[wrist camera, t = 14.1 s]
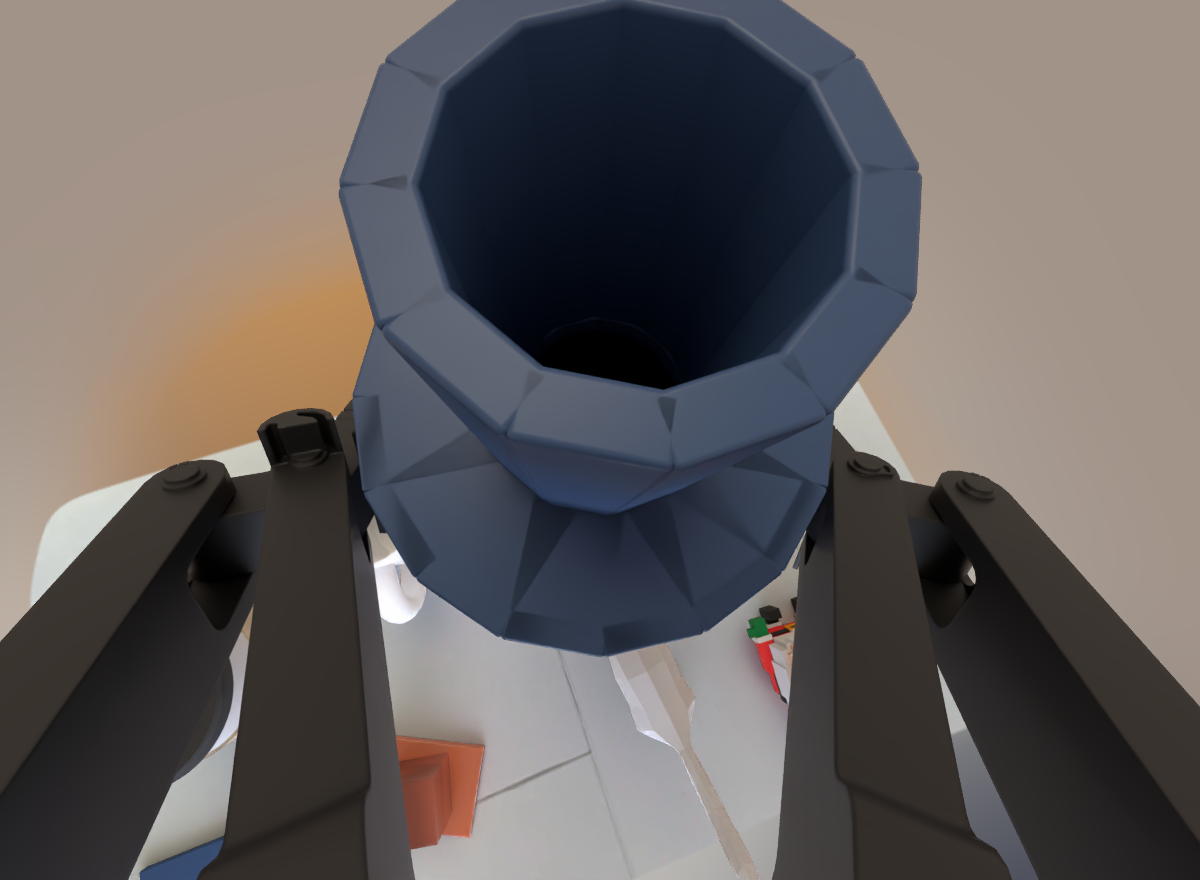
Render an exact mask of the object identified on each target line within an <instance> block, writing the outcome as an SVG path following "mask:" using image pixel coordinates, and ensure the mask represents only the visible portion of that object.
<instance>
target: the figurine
mask: <svg viewBox="0 0 1200 880" xmlns="http://www.w3.org/2000/svg"><path fill="white" fill-rule="evenodd" d="M791 601H792V604H793V607H794V610H795V613H794V616H795V617H796V604H797V597H795V598H792V599H791ZM759 610H760V613H761V616H762V617H756V618H753V619H750V620H748V621H749V624H750V627H751V628H749V629H747V632H748V635H749V637H750V638H752V640H753V641H754V642H755V643H756V646H757V650H758V653H759V656H760V659H761V662H762V666H763V669H764V670H766V671H767V672H769V674H770V677H771V681H772V684H773V687H774V690H775V691H776V692H777V693H778V694H780V696H781V699H782V701H784V702H785V703H787V704H788V706H789V696H790V682H791V669H792V656H793V643H794V630H795V622H792V623H788V624H785V625H782V623H781V621H779V620H778V619H779V618H782V616H781V613H780V610H779V608H776V607H773V606H770V605H769V606H766V607H763V608H759ZM780 625H782V626H780Z"/></svg>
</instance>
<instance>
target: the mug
mask: <svg viewBox="0 0 1200 880" xmlns="http://www.w3.org/2000/svg"><path fill="white" fill-rule="evenodd" d="M367 531H368V534H369V537H370V541H371V547H372V554H373V562H374V570H375V578H376V586H377V593H378V601H379V609H380V616H381V617H382V618H384V619H385V620H386V621H388V622H390V623H404V622H406V621H409V620H411V619H412V618H414V617H415V615H416V614H417V613H418V611H419V610H420V609H421V607H422V605H423V602H424V599H425V595H426V589H427V588H426V587H425V586H423V585H422V584H420V583H419V582H418V581H417V578H415V577H413V576H412V574H411V573H410V571H409V569H408V568H407V566H406V564H405V563H404V561H403V559H402V558H401V556H400V554H399V553H398V551H397V549H396V548H395V546H394V544H393V543H392V541H391V539H390V538H389V536H388V534H387V533H379V529H378V526H377V522H376V519H375V515H374V517H373V518H372V520H371V522H370V524H369V526H368V528H367ZM395 565H400V566H401V578H400V582H399V579H398V576H397V572H396V568H395Z"/></svg>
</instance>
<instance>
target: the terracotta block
mask: <svg viewBox="0 0 1200 880" xmlns="http://www.w3.org/2000/svg"><path fill="white" fill-rule="evenodd" d="M399 765H400V773H401V780H402V788H403V796H404V804H405V812H406V819H407V827H408V835H409V843H410V850H411V849H417V848H422V847H427V846H432V845H437V844H438V842H439V840H440V837H441V835H442V833H443V831H444V828H445V826H446V824H447V822H448V820H449V817H450V815H451V813H452V801H451V787H450V773H449V759H448V753H445V754H439V755H434V756H428V757H422V758H416V759H411V760H405V761H399Z"/></svg>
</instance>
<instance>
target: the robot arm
mask: <svg viewBox="0 0 1200 880" xmlns="http://www.w3.org/2000/svg"><path fill="white" fill-rule="evenodd" d="M257 433H258V435H259V438H260V440H261V443H262V445H263V448H264V450H265V453H266V455H267V457H268V460H269V462H270V465H271V471H268V472H263V473H257V474H251V475H245V476H239V477H233V478H231V477H230V475H229V473H228V471H227V469H226V467H225V466H224V464H223V463H221V462H218V461H215V460H197V461H187V462H183V463H180V464H179V465H177V464H176V465H173V466H170V467H168V468H167V469H165V470H163V471H161V472H159V473H157V474H155V475H154V476H153V477H151V478H150V479H149V480H148V481H146V482H145V483H144V484H143V485H142V486H141V487H140V489H139V490H138V491H137V492H136V493H135V494H134V495H133V496H132V497H131V498H130V500H129V501H128V502H127V503H126V504H125V505H124V506H123V507H122V508H121V509H120V511H119V512H118V513H117V514H116V515H115V516H114V517H113V518H112V519H111V520H110V522H109V523H108V524H107V525H106V526H105V527H104V528H103V529H102V530H101V531H100V533H99V534H98V535H97V536H96V537H95V538H94V539H93V540H92V541H91V542H90V544H89V545H88V546H87V547H86V548H85V549H84V550H83V551H82V552H81V553H80V555H79V556H78V557H77V558H76V559H75V560H74V561H73V562H72V563H71V564H70V566H69V567H68V568H67V569H66V570H65V571H64V572H63V573H62V574H61V575H60V577H59V578H58V579H57V580H56V581H55V582H54V583H53V584H52V585H51V586H50V588H49V589H48V590H47V591H46V592H45V593H44V594H43V595H42V596H41V597H40V599H39V600H38V601H37V602H36V603H35V604H34V605H33V606H32V607H31V608H30V610H29V611H28V612H27V613H26V614H25V615H24V616H23V617H22V618H21V620H20V621H19V622H18V623H17V624H16V625H15V626H14V627H13V628H12V630H11V631H10V632H9V633H8V634H7V635H6V636H5V637H4V638H3V639H2V640H1V642H0V880H128V879H129V876H130V874H131V872H132V870H133V868H134V865H135V863H136V861H137V859H138V857H139V855H140V852H141V850H142V848H143V846H144V844H145V841H146V839H147V837H148V835H149V833H150V830H151V828H152V826H153V824H154V822H155V819H156V817H157V815H158V813H159V811H160V808H161V806H162V804H163V802H164V800H165V797H166V795H167V793H168V791H169V789H170V786H171V784H172V782H173V780H174V778H175V776H176V773H177V771H178V769H179V767H180V765H181V762H182V760H183V758H184V756H185V754H186V751H187V749H188V747H189V745H190V743H191V740H192V738H193V736H194V734H195V732H196V729H197V727H198V725H199V723H200V721H201V718H202V716H203V714H204V712H205V710H206V707H207V705H208V703H209V701H210V699H211V697H212V694H213V692H214V690H215V688H216V686H217V683H218V681H219V679H220V677H221V675H222V672H223V670H224V668H225V666H226V664H227V661H228V659H229V657H230V655H231V653H232V650H233V648H234V646H235V644H236V642H237V639H238V637H239V635H240V633H241V631H242V629H243V626H244V624H245V622H246V620H247V618H248V615H249V613H250V611H251V609H252V607H253V614H252V622H251V630H250V638H249V646H248V654H247V662H246V669H245V677H244V685H243V693H242V701H241V709H240V717H239V725H238V733H237V741H236V749H235V757H234V765H233V773H232V781H231V789H230V796H229V804H228V812H227V820H226V828H225V834H224V839H223V844H222V847H221V849H220V851H219V854H218V856H217V857H216V858H215V859H214V860H212V861H211V862H210V863H209V864H208V865H207V866H205V867H204V868H203V869H202V870H201V871H200V873H199V875H198V877H197V880H415V876H414V871H413V865H412V858H411V851H410V843H409V835H408V827H407V819H406V812H405V804H404V796H403V788H402V780H401V773H400V765H399V757H398V749H397V741H396V734H395V726H394V718H393V710H392V703H391V695H390V687H389V679H388V671H387V664H386V656H385V648H384V640H383V632H382V625H381V617H380V609H379V601H378V593H377V586H376V578H375V570H374V562H373V554H372V547H371V541H370V537H369V534H368V531H367V528H368V526H369V524H370V522H371V520H372V518H373V517H374V515H375V519H376V522H377V526H378V529H379V533H386V531H385V529H384V528H383V526H382V524H381V523H380V521H379V519H378V518H377V516H376V514H375V513H374V511H373V509H372V508H371V506H370V504H369V503H368V501H367V499H366V498H365V495H364V493H365V492H363V490H362V483H361V475H360V466H359V457H358V449H357V440H356V432H355V423H354V415H353V406H352V400H351V401H350V402H349V404H348V405H347V406H346V407H345V408H344V411H342V412H341V413H340V414H339V415H338V417H337V418H336V420H334V418H333V416H332V415H331V413H330V412H327V411H325V410H323V409H314V408H307V409H296V410H292V411H288V412H284V413H281V414H279V415H276V416H274V417H271V418H270V419H268V420H267V421H265V422H264V423H263V424H261V426H260V427H259V429H258V430H257ZM972 566H973V568H974V570H975V576H976V582H975V584H974V583H973V582H972V581H971V579H970V577H969V576H968V574H967V573H968V572H969V570H970V569H971V567H972ZM798 567H799V578H798V591H797V604H796V617H795V630H794V643H793V656H792V669H791V682H790V696H789V709H788V722H787V735H786V748H785V761H784V774H783V787H782V800H781V813H780V826H779V839H778V850H777V859H776V864H775V870H774V873H773V877H772V880H1012V879H1011V875H1010V873H1009V870H1008V867H1007V865H1006V864H1005V862H1004V861H1003V859H1002V858H1001V856H1000V855H999V853H998V852H997V850H996V849H995V848H993V847H992V846H990V845H988V844H987V843H985V842H983V841H982V840H980V839H978V838H977V837H976V835H975V834H974V833H973V831H972V829H971V827H970V824H969V821H968V817H967V814H966V809H965V804H964V798H963V793H962V789H961V783H960V779H959V774H958V769H957V763H956V758H955V753H954V749H953V744H952V738H951V733H950V728H949V723H948V718H947V713H946V708H945V703H944V698H943V693H942V688H941V683H940V678H939V673H938V668H937V665H938V667H939V669H940V671H941V673H942V675H943V677H944V679H945V682H946V684H947V686H948V688H949V690H950V692H951V694H952V696H953V699H954V701H955V703H956V705H957V707H958V709H959V711H960V713H961V716H962V718H963V720H964V722H965V724H966V726H967V728H968V730H969V732H970V735H971V737H972V739H973V741H974V743H975V745H976V747H977V749H978V752H979V754H980V756H981V758H982V760H983V762H984V764H985V766H986V769H987V771H988V773H989V775H990V777H991V779H992V781H993V783H994V785H995V788H996V790H997V792H998V794H999V796H1000V798H1001V800H1002V802H1003V805H1004V807H1005V808H1006V811H1007V813H1008V815H1009V817H1010V819H1011V821H1012V823H1013V826H1014V828H1015V830H1016V832H1017V834H1018V836H1019V838H1020V840H1021V843H1022V845H1023V847H1024V849H1025V851H1026V853H1027V855H1028V857H1029V859H1030V862H1031V864H1032V866H1033V868H1034V870H1035V872H1036V875H1037V877H1038V879H1039V880H1200V707H1199V705H1198V704H1197V703H1196V702H1195V701H1194V700H1193V698H1192V697H1191V696H1190V695H1189V694H1188V693H1187V692H1186V691H1185V690H1184V688H1182V686H1181V685H1180V684H1179V683H1178V682H1177V681H1176V679H1175V678H1174V677H1173V676H1172V675H1171V674H1170V673H1169V672H1168V670H1166V668H1165V667H1164V666H1163V665H1162V664H1161V663H1160V662H1159V660H1158V659H1157V658H1156V657H1155V656H1154V655H1153V654H1152V653H1151V652H1150V650H1149V649H1148V648H1147V647H1146V646H1145V645H1144V644H1143V643H1142V641H1141V640H1140V639H1139V638H1138V637H1137V636H1136V635H1135V634H1134V633H1133V631H1132V630H1131V629H1130V628H1129V627H1128V626H1127V625H1126V623H1125V622H1123V620H1122V619H1121V618H1120V617H1119V616H1118V615H1117V613H1116V612H1115V611H1114V610H1113V609H1112V608H1111V607H1110V606H1109V605H1108V603H1107V602H1106V601H1105V600H1104V599H1103V598H1102V597H1101V596H1100V594H1099V593H1098V592H1097V591H1096V590H1095V589H1094V588H1093V587H1092V585H1090V583H1089V582H1088V581H1087V580H1086V579H1085V578H1084V577H1083V575H1082V574H1081V573H1080V572H1079V571H1078V570H1077V569H1076V568H1075V566H1074V565H1073V564H1072V563H1071V562H1070V561H1069V560H1068V559H1067V557H1066V556H1065V555H1064V554H1063V553H1062V552H1061V551H1060V550H1059V549H1058V547H1057V546H1056V545H1055V544H1054V543H1053V542H1052V541H1051V540H1050V538H1049V537H1048V536H1047V535H1046V534H1045V533H1044V532H1043V531H1042V529H1040V527H1039V526H1038V525H1037V524H1036V523H1035V522H1034V520H1033V519H1032V518H1031V517H1030V516H1029V515H1028V514H1027V513H1026V512H1025V510H1024V509H1023V508H1022V507H1021V506H1020V505H1019V504H1018V503H1017V501H1016V500H1015V499H1014V498H1013V497H1012V496H1011V495H1010V494H1009V493H1008V492H1007V491H1006V490H1005V489H1003V488H1002V487H1001V486H999V485H998V484H996V483H994V482H992V481H991V480H990V479H988V478H986V477H984V476H980V475H978V474H975V473H968V472H963V471H947V472H945V473H942V474H941V475H940V477H939V479H938V481H937V483H936V485H935V487H931V486H926V485H921V484H917V483H912V482H907V481H903V480H900V477H899V475H898V473H897V471H896V469H895V468H894V467H892V466H891V465H890V464H889V463H888V462H886V461H884V460H882V459H880V458H878V457H877V456H873V455H870V454H867V453H864V452H857V451H855V450H854V449H853V448H852V446H851V445H850V444H849V443H848V442H847V440H846V439H845V438H844V437H843V436H842V435H841V433H840V432H839V431H838V430H837V429H835V426H834V425H833V432H832V444H831V456H830V468H829V480H828V487H827V488H826V493H825V495H824V497H823V499H822V501H821V503H820V505H819V506H818V508H817V510H816V512H815V514H814V516H813V518H812V519H811V521H810V523H809V525H808V527H807V529H806V534H805V536H804V539H803V542H802V544H801V547H800V549H799V552H798V555H797V557H796V560H795V563H794V565H793V568H794V569H798ZM253 604H254V606H253ZM936 662H937V663H936Z"/></svg>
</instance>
